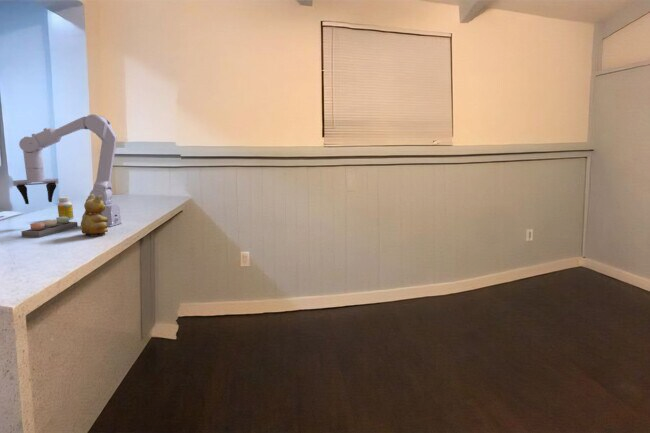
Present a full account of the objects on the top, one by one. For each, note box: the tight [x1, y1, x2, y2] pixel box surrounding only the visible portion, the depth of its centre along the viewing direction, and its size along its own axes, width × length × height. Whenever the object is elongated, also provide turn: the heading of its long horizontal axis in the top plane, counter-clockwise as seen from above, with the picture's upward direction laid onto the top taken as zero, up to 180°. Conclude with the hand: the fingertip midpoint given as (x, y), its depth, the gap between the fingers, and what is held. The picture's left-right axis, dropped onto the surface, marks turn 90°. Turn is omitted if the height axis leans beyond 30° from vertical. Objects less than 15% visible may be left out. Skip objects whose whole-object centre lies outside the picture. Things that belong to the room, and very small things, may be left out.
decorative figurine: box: [80, 194, 109, 237], centre depth 144 cm, size 10×8×15 cm
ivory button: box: [43, 218, 57, 227], centre depth 150 cm, size 4×4×2 cm
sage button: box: [55, 216, 70, 224], centre depth 156 cm, size 4×4×2 cm
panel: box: [20, 221, 79, 238], centre depth 151 cm, size 7×19×2 cm, turn 173°
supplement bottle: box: [56, 196, 74, 221], centre depth 174 cm, size 5×5×10 cm
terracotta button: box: [29, 222, 44, 230], centre depth 145 cm, size 4×4×2 cm
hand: (38, 202), depth 157 cm, fingers open, 7 cm apart
